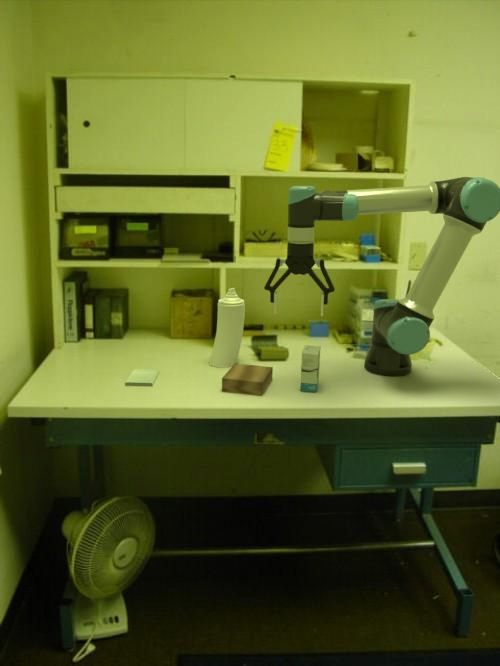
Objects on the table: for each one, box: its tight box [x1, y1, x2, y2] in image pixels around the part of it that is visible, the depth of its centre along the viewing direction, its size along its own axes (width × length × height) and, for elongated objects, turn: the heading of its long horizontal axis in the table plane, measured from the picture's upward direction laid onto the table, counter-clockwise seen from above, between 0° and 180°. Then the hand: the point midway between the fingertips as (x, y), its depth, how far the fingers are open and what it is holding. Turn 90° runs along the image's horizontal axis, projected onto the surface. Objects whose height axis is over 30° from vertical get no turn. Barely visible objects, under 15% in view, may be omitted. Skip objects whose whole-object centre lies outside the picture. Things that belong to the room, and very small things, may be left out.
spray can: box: [209, 287, 246, 368], centre depth 201 cm, size 12×11×25 cm
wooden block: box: [221, 362, 274, 396], centre depth 183 cm, size 12×14×4 cm
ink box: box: [299, 344, 321, 393], centre depth 182 cm, size 8×5×12 cm, turn 168°
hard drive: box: [124, 368, 160, 387], centre depth 187 cm, size 2×8×12 cm
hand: (298, 314), depth 180 cm, fingers open, 13 cm apart
